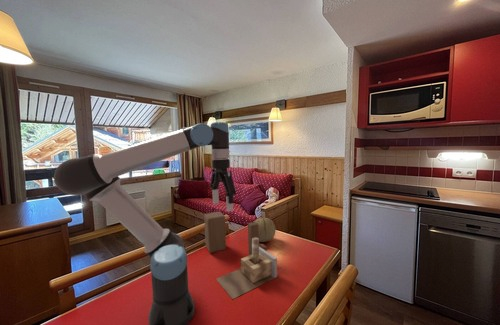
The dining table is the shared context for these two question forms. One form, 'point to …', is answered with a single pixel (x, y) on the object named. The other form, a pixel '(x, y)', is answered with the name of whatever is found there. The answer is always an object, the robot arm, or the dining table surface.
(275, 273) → the wall
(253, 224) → the wooden block
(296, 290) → the dining table surface
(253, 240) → the dowel
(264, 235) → the cantaloupe
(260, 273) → the oak block
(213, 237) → the block
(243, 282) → the jig board
